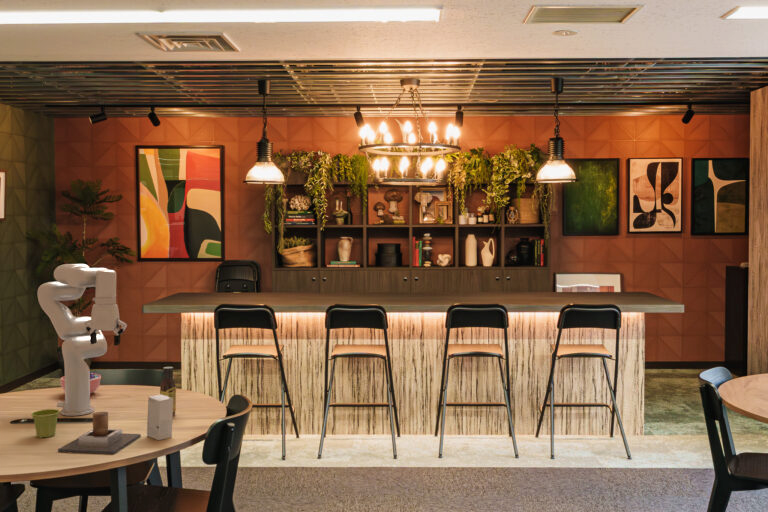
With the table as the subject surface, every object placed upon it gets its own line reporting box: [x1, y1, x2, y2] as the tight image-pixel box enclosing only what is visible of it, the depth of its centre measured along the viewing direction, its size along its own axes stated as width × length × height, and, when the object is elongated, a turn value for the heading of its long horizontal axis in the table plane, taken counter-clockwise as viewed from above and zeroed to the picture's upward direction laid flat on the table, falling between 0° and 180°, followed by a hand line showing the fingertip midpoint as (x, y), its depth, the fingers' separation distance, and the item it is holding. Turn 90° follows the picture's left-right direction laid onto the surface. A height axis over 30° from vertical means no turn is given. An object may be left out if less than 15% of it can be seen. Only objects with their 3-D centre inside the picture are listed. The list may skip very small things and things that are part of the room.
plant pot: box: [31, 408, 61, 439], centre depth 251 cm, size 9×9×9 cm
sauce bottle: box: [159, 366, 177, 417], centre depth 279 cm, size 7×6×20 cm
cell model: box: [60, 372, 102, 395], centre depth 314 cm, size 17×20×11 cm
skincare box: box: [146, 394, 174, 441], centre depth 251 cm, size 8×6×15 cm
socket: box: [57, 428, 142, 455], centre depth 242 cm, size 20×20×4 cm
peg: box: [92, 411, 109, 437], centre depth 242 cm, size 5×5×10 cm
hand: (105, 344), depth 268 cm, fingers open, 9 cm apart
